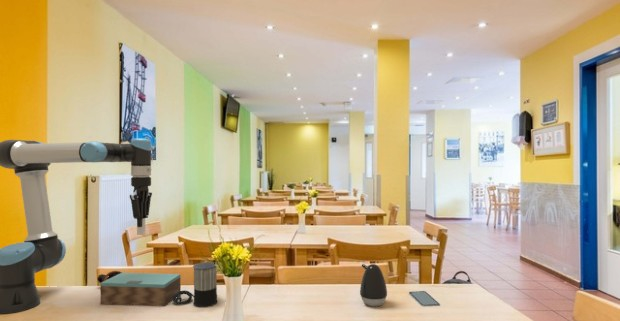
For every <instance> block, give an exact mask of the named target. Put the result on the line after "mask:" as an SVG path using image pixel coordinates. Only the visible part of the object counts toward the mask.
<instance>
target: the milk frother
mask: <svg viewBox="0 0 620 321" xmlns="http://www.w3.org/2000/svg"><path fill="white" fill-rule="evenodd" d="M214 263H215V262H210V261H207V262H205V261H204V262H200V263H196V264H193V266H192V268H193V293H192V292H191V291H189V290H181V291H179V292H178V293H176V294H175V295H174V296H173V300H172V302H173V303H174V304H176V305H185V304H186V305H187V304H189V303H190V302H191V300H192V298H193V302H192V305H193V306H195V307H198V308H206V307H212V306H214V305H216V304H218V294H217V293H218V292H217V291H218V288H217V287H218V285H217V281H218V280H217V276H218V275H217V266H215V264H214ZM182 295H186V296H188V298H187V299H185V300H182V297H181V296H182Z"/></svg>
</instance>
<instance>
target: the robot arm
mask: <svg viewBox="0 0 620 321" xmlns="http://www.w3.org/2000/svg"><path fill="white" fill-rule="evenodd" d="M151 142H152V141H151V140H150V139H148V138H131V141H130V143H114V142H113V143H112V142H101V141H89V142H54V143H52V142H50V143H48V142H46V143H45V142H41V141H36V140H20V139H5V140H3V141H1V142H0V167H2V168H4V169H8V170H9V169H10V170H13V171H14V175H15V177H16V176H17V178H19V179H20V187H21V188H20V189H21V195H22V201H23V203H22V204H23V211H24V216H25V223H26V230H27V236H26V237H25V238H24V240H23V241H24V242H16V243H11V244H8V245H5V246H4V247H1V248H0V314H1V315H2V314H12V313H18V312H23V311H26V310H30V309H32V308H35V307H37V306H39V305H40V303H41V295H40V294H39V291H38V288H37V285H36V280H35V278H36V273H39V272H42V271H44V270H48V269H51V268H53V267H56V266H57V265H59V264H60V263H61V262H62V261H63V260H64V258H65V256H66V254H67V253H66V252H67V248H66V245H65V243H64V242H63V241H62V239H59V236H58V233H56V232H55V231H53V226H52V217H51V216H52V215H51V211H50V210H51V209H50V203H49V197H48V189H47V182H46V181H47V180H46V174H47V173H48V172H49V166H50V165H51V164H55V163H56V164H58V163H59V164H61V163H62V164H63V163H64V164H65V163H66V164H67V163H68V164H69V163H70V164H71V163H72V164H73V163H130V165H131V166H130V176H132V177H131V179H130V183H131V184H130V186H131V187H133V193H132V194H129V200H130V203H131V209H132V217H133V218H134V220H136V235H138V236H145V235H146V219H148V218H149V216H150V214H149V213H150V207H151V199H152V196H153V193H152V192H150V191H149V190H150V189H149V187H151V185H152V177H151V176H152V150H153V149H152V143H151Z"/></svg>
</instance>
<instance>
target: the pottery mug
mask: <svg viewBox="0 0 620 321" xmlns="http://www.w3.org/2000/svg"><path fill="white" fill-rule="evenodd" d="M120 273H123V272H121V271H118V270H112V271H110V272H108V273H106V274H102V273H101V274H99V275H98V276H97V282H98V283H101V282H103V281H105V280H108V279H110V278H112V277H114V276H116V275H118V274H120Z"/></svg>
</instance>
